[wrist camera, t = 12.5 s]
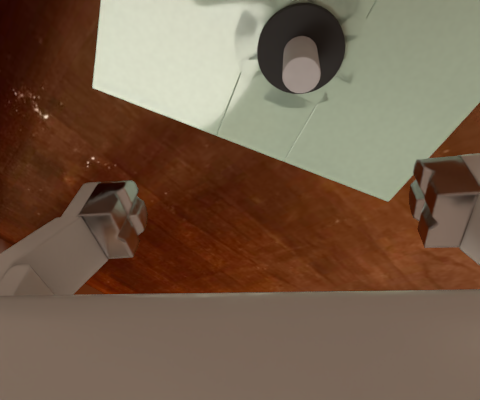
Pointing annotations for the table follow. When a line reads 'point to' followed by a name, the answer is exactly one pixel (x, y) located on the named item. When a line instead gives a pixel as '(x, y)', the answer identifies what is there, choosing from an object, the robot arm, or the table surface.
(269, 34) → the stopper
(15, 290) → the robot arm
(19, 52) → the table surface
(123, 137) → the table surface
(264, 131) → the drain plate
